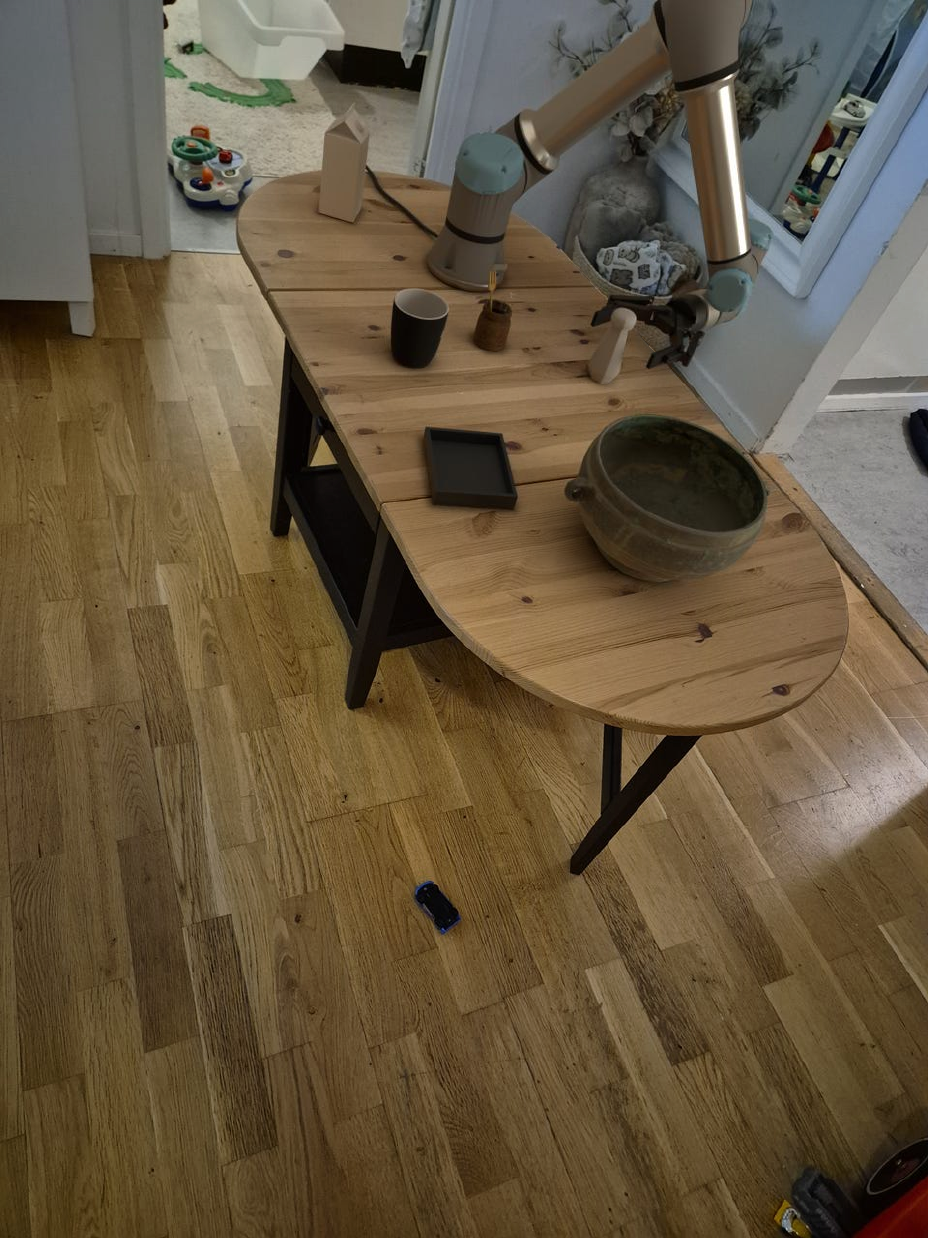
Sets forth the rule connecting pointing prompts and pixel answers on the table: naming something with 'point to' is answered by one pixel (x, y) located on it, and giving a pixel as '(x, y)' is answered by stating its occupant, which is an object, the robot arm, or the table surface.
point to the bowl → (668, 498)
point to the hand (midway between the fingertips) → (621, 339)
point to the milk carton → (344, 166)
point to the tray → (469, 468)
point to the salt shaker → (611, 347)
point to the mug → (417, 326)
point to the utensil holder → (493, 321)
